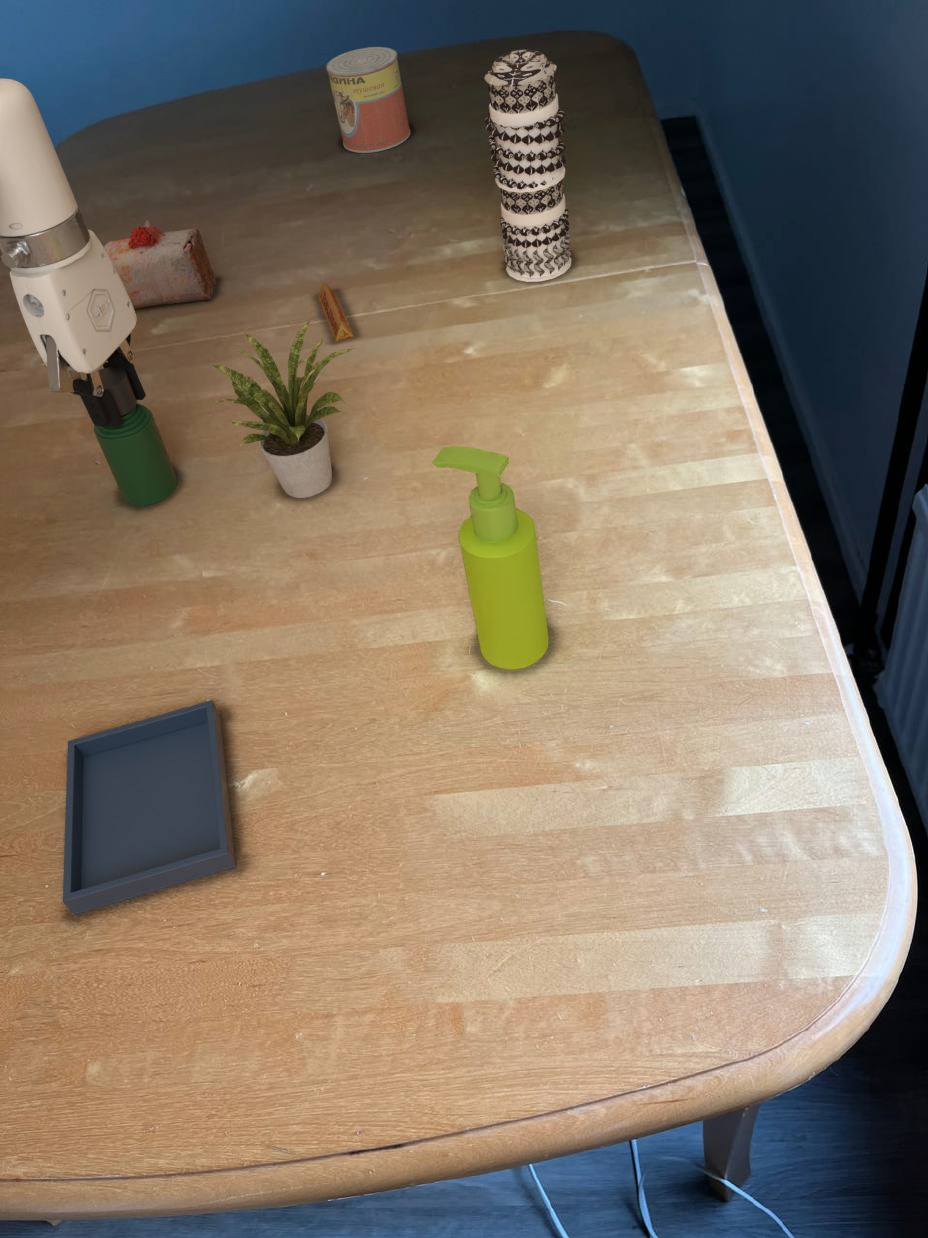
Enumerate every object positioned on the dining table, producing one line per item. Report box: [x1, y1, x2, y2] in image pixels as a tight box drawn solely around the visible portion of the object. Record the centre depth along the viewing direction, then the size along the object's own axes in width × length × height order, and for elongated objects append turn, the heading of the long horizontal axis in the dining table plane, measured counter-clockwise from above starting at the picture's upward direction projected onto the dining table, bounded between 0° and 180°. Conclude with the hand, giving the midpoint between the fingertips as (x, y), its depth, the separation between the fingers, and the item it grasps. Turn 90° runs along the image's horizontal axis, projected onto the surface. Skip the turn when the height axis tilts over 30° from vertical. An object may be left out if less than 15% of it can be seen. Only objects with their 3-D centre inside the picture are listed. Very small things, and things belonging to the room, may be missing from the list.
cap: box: [84, 367, 138, 416], centre depth 101 cm, size 4×4×3 cm
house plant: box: [210, 318, 356, 499], centre depth 101 cm, size 14×14×16 cm
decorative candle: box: [484, 49, 572, 283], centre depth 122 cm, size 9×9×25 cm
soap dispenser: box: [432, 446, 550, 670], centre depth 80 cm, size 6×7×20 cm
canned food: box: [325, 46, 412, 154], centre depth 164 cm, size 11×11×12 cm
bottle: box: [93, 402, 179, 507], centre depth 105 cm, size 6×6×13 cm
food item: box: [103, 219, 217, 310], centre depth 137 cm, size 14×8×10 cm, turn 89°
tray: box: [62, 699, 237, 916], centre depth 80 cm, size 15×12×2 cm
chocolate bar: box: [317, 281, 354, 342], centre depth 129 cm, size 3×12×2 cm, turn 16°
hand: (120, 409), depth 103 cm, fingers closed on cap, 3 cm apart
